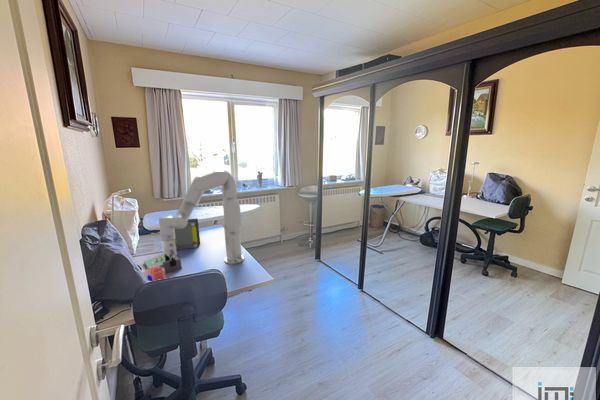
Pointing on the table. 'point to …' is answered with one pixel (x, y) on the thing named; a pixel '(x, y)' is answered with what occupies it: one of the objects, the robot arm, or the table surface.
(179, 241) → the electrical component
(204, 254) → the table surface
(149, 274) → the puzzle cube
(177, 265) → the block
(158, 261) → the header board
